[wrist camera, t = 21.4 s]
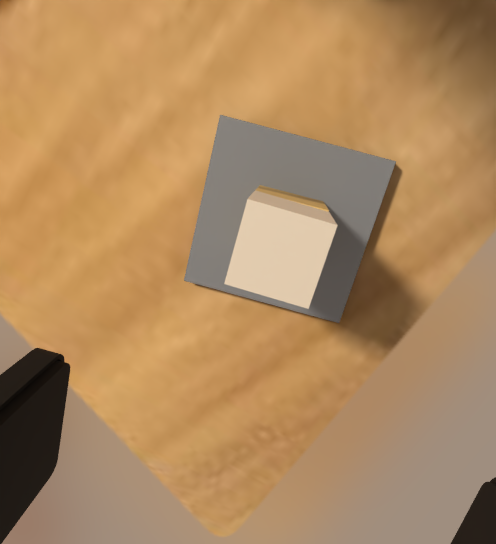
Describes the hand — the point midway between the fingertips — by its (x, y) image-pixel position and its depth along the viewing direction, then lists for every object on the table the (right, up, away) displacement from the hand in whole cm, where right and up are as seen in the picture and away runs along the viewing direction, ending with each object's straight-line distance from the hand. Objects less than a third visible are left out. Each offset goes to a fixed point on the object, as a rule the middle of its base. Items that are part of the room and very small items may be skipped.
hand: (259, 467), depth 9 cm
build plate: (+3, +9, +31) cm, 32 cm away
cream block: (+2, +7, +24) cm, 25 cm away
